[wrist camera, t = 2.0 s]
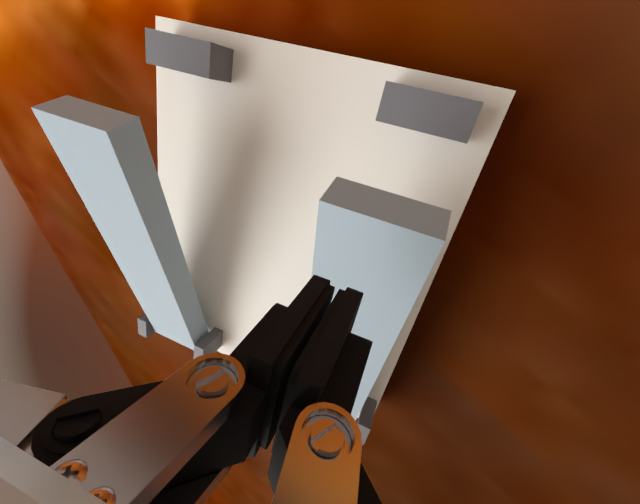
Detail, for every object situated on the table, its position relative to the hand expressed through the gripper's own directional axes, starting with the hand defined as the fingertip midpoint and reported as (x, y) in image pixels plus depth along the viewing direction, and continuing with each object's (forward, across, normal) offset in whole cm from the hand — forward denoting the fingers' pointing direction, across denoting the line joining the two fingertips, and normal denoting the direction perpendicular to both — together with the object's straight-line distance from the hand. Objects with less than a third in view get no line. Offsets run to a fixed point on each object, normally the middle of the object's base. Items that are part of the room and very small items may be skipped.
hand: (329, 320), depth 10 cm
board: (+16, +8, +6) cm, 19 cm away
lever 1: (+9, +16, +7) cm, 19 cm away
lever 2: (+9, 0, +7) cm, 11 cm away
